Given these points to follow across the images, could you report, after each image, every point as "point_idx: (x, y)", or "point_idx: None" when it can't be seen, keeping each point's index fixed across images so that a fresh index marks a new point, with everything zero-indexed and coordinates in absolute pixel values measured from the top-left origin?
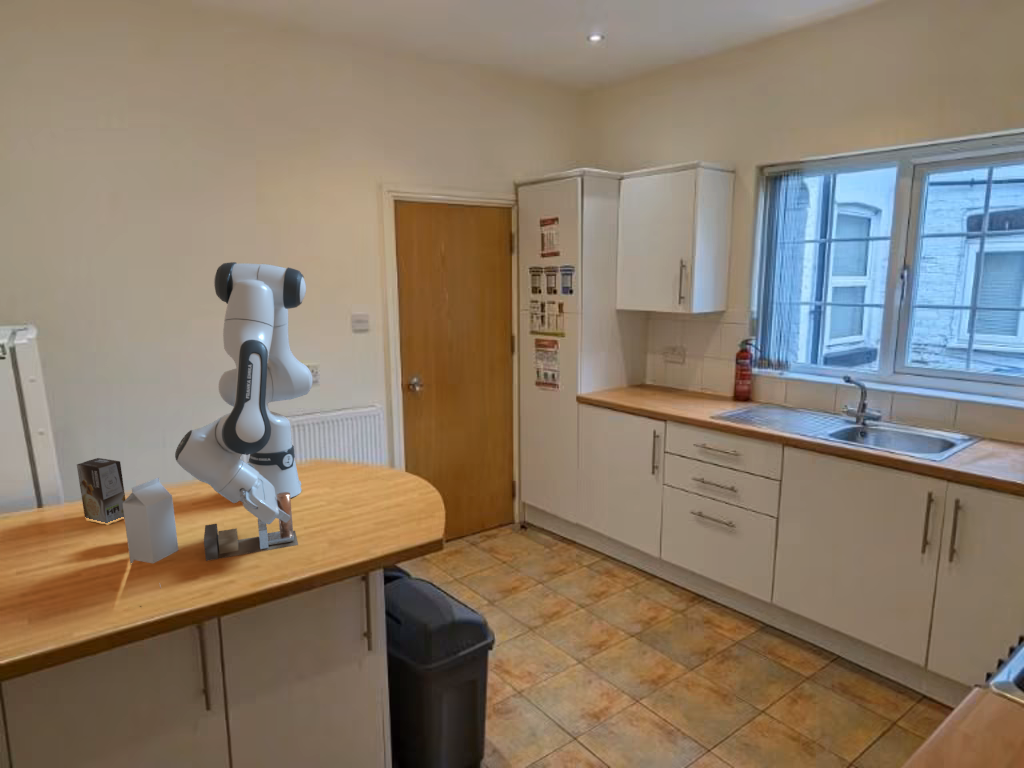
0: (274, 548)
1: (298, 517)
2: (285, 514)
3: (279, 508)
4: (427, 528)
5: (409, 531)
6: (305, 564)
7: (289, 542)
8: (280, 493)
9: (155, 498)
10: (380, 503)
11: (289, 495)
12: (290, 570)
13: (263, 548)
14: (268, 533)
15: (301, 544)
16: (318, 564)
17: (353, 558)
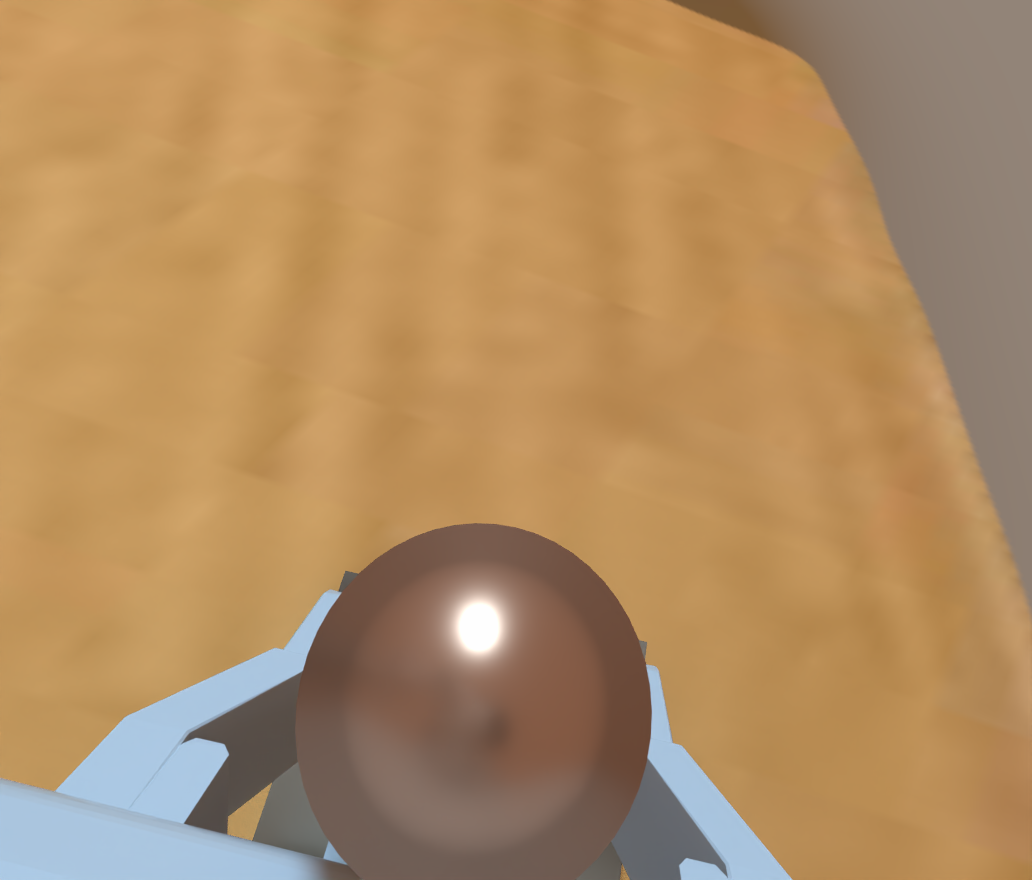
0: (610, 861)
1: (19, 442)
2: (669, 739)
3: (698, 870)
4: (709, 43)
5: (701, 98)
6: (884, 679)
7: None
8: (351, 750)
9: None
10: (260, 42)
11: (584, 569)
12: (947, 817)
13: None
14: (336, 858)
15: None
16: (916, 601)
17: (907, 402)
